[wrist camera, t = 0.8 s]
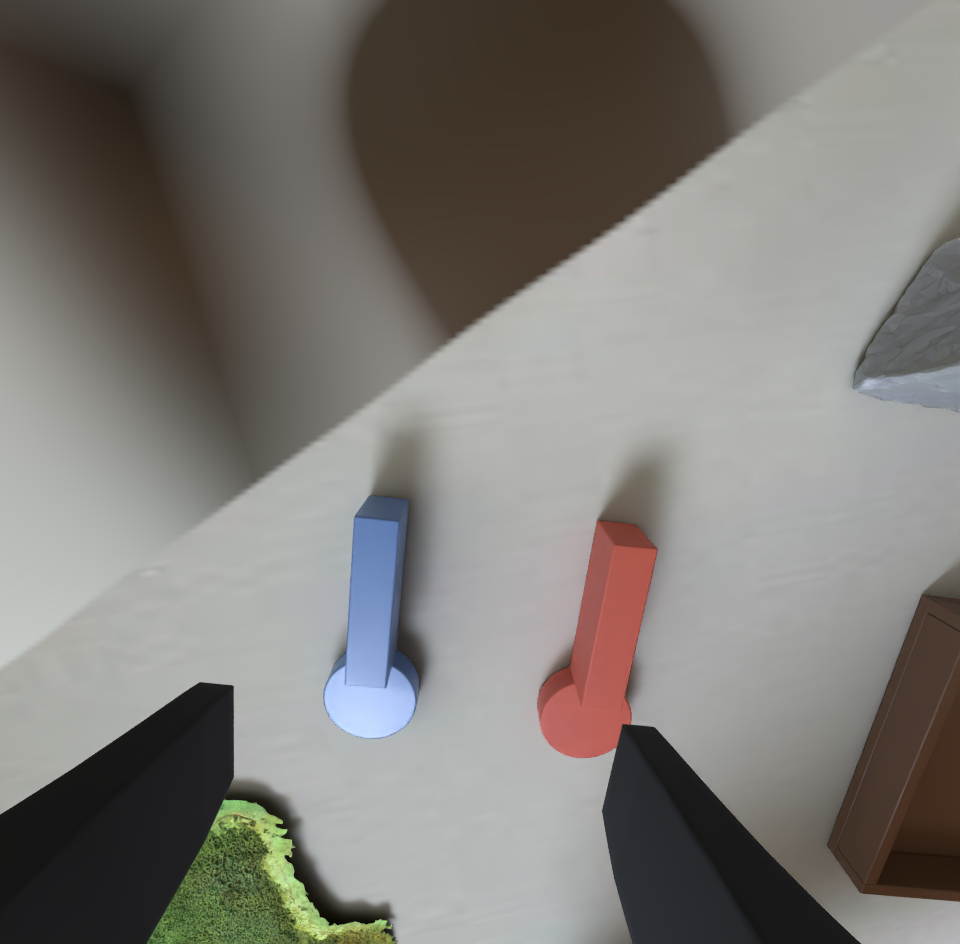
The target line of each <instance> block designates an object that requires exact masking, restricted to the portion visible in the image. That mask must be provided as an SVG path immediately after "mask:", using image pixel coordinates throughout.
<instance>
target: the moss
mask: <svg viewBox="0 0 960 944" xmlns="http://www.w3.org/2000/svg"><path fill="white" fill-rule="evenodd" d="M278 823H279V824H283V821H282V820H281V819H279V818H277V817H275V816H272V815H270V814H268V813H267V812H266V811H265V809H264V808H263V807H262V806H259V805H258V804H257V803H256V802H255V803H248V802H247V801H242V800H241V801H239V800H231V801H228V800H225V799H224V800H223V803H222V805H221V807H220V810H219V812H218V814H217V816H216V818H215V821H214V823H213V825H212V827H211V829H210V831H209V834H208V836H207V838H206V840H205V842H204V844H203V846H202V847H201V849H200V851H199V853H198V855H197V856H196V858H195V860H194V862H193V863H192V865H191V867H190V869H189V870H188V872H187V874H186V876H185V878H184V879H183V881H182V883H181V885H180V886H179V888H178V890H177V892H176V893H175V895H174V897H173V899H172V900H171V902H170V904H169V906H168V907H167V909H166V911H165V912H164V914H163V916H162V918H161V919H160V921H159V923H158V925H157V926H156V928H155V930H154V932H153V933H152V935H151V937H150V938H149V940H148V942H147V944H394V943H395V942H394V941H392V937H394V936H391V935H390V934H389V933H385V932H384V931H383V930H384V929H385V928H388V929H392V928H391V927H392V926H393V924H392V925H390V926H386V923H387V921H382V919H379V920H378V921H376V920H375V923H373V924H372V923H370V924H368V925H367V924H364V923H363V924H361V923H359V922H356V921H354V922H351V923H347V924H344V925H336V924H335V923H334V924H333V925H332V926H329V925H328V923H329V922H327V921H326V919H325V918H321V917H320V916H319V911H317V909H316V908H314V906H313V903H309V900H308V898H307V897H306V894H308V893H306V891H305V888H304V884H303V883H301V882H299V881H298V880H296V879H295V878H294V876H293V874H294V872H295V870H294V869H293V865H292V864H291V863H289V862H287V860H286V859H285V855H288V856H289V857H292V852H291V848H294V847H295V846H292V840H289V839H283V838H281V836H283V835H285V834H286V832H287V829H280V828H278V827H277V826H276V824H278ZM382 931H383V932H382ZM396 942H398V941H396Z"/></svg>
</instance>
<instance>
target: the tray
mask: <svg viewBox="0 0 960 944" xmlns="http://www.w3.org/2000/svg"><path fill="white" fill-rule="evenodd" d="M827 846H828V848H829V849H830V851H831V852H832V854H833V855H834V856H835V858H836V859H837V861H838V862H839V863H840V865H841V866H842V868H843V869H844V870H845V872H846V873H847V875H848V876H849V878H850V879H851V880H852V882H853V883H854V885H855V886H856V888H857V889H858V890H859V892H860V893H862V894H874V895H886V896H898V897H910V898H923V899H935V900H947V901H959V902H960V599H954V598H945V597H935V596H926V595H922V597H921V600H920V603H919V605H918V608H917V611H916V613H915V616H914V618H913V621H912V624H911V626H910V629H909V632H908V634H907V637H906V640H905V642H904V645H903V647H902V650H901V653H900V655H899V658H898V661H897V663H896V666H895V669H894V671H893V674H892V676H891V679H890V682H889V684H888V687H887V690H886V692H885V695H884V698H883V700H882V703H881V705H880V708H879V711H878V713H877V716H876V719H875V721H874V724H873V727H872V729H871V732H870V734H869V737H868V740H867V742H866V745H865V748H864V750H863V753H862V756H861V758H860V761H859V763H858V766H857V769H856V771H855V774H854V777H853V779H852V782H851V785H850V787H849V790H848V792H847V795H846V798H845V800H844V803H843V806H842V808H841V811H840V814H839V816H838V819H837V821H836V824H835V827H834V829H833V832H832V835H831V837H830V840H829V843H828V845H827Z"/></svg>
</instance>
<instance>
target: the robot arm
mask: <svg viewBox="0 0 960 944" xmlns="http://www.w3.org/2000/svg"><path fill="white" fill-rule="evenodd" d="M233 778H234V686H232V685H222V684H212V683H202V682H199V683H198V684H196V685H195V686H193V687H192V688H190V689H189V690H187V691H186V692H184V693H183V694H181V695H180V696H178V697H177V698H175V699H174V700H173V701H171V702H170V703H168V704H167V705H165V706H164V707H162V708H161V709H160V710H158V711H157V712H155V713H154V714H152V715H151V716H150V717H148V718H147V719H145V720H144V721H142V722H141V723H139V724H138V725H137V726H135V727H134V728H132V729H131V730H129V731H128V732H126V733H125V734H123V735H122V736H120V737H119V738H118V739H116V740H115V741H113V742H112V743H110V744H109V745H107V746H106V747H104V748H103V749H101V750H100V751H98V752H97V753H95V754H94V755H92V756H91V757H89V758H88V759H86V760H85V761H84V762H82V763H81V764H79V765H78V766H76V767H75V768H73V769H72V770H70V771H69V772H67V773H65V774H64V775H62V776H61V777H59V778H58V779H56V780H54V781H53V782H51V783H50V784H48V785H46V786H45V787H43V788H42V789H40V790H39V791H37V792H35V793H34V794H32V795H31V796H29V797H28V798H26V799H24V800H23V801H21V802H20V803H18V804H16V805H15V806H13V807H12V808H10V809H9V810H7V811H5V812H4V813H2V814H1V815H0V944H147V942H148V940H149V938H150V937H151V935H152V933H153V932H154V930H155V928H156V926H157V925H158V923H159V921H160V919H161V918H162V916H163V914H164V912H165V911H166V909H167V907H168V906H169V904H170V902H171V900H172V899H173V897H174V895H175V893H176V892H177V890H178V888H179V886H180V885H181V883H182V881H183V879H184V878H185V876H186V874H187V872H188V870H189V869H190V867H191V865H192V863H193V862H194V860H195V858H196V856H197V855H198V853H199V851H200V849H201V847H202V846H203V844H204V842H205V840H206V838H207V836H208V834H209V831H210V829H211V827H212V825H213V823H214V821H215V818H216V816H217V814H218V812H219V810H220V807H221V805H222V803H223V800H224V798H225V796H226V794H227V791H228V789H229V787H230V784H231V782H232V780H233ZM602 813H603V819H604V825H605V831H606V837H607V843H608V848H609V854H610V859H611V864H612V870H613V875H614V879H615V883H616V886H617V890H618V894H619V897H620V901H621V905H622V908H623V912H624V915H625V919H626V922H627V926H628V930H629V933H630V937H631V940H632V944H861V943H860V942H859V941H858V940H856V939H855V938H854V937H853V936H852V935H851V934H850V933H849V932H848V931H847V930H846V929H845V928H844V927H843V926H842V925H841V924H839V923H838V922H837V921H836V920H835V919H834V918H833V917H832V916H831V915H830V914H829V913H828V912H827V911H826V910H825V909H824V908H823V907H822V906H821V905H820V904H819V903H818V902H817V901H816V900H815V899H814V898H813V897H812V896H811V895H810V894H809V893H808V892H807V891H806V890H805V889H804V888H803V887H802V886H801V885H800V884H799V883H798V882H797V881H796V880H795V879H794V878H793V877H792V876H791V875H790V874H789V873H788V872H787V871H786V870H785V869H784V868H783V867H782V866H781V865H780V864H779V863H778V862H777V861H776V860H775V859H774V858H773V857H772V856H771V855H770V854H769V853H768V852H767V851H766V849H765V848H764V847H763V846H762V845H761V844H760V843H759V842H758V841H757V840H756V839H755V838H754V837H753V836H752V835H751V834H750V833H749V831H748V830H747V829H746V828H745V827H744V826H743V825H742V824H741V823H740V822H739V821H738V820H737V819H736V817H735V816H734V815H733V814H732V813H731V812H730V811H729V810H728V809H727V808H726V806H725V805H724V804H723V803H722V802H721V801H720V800H719V799H718V798H717V797H716V795H715V794H714V793H713V792H712V791H711V790H710V789H709V788H708V786H707V785H706V784H705V783H704V782H703V781H702V780H701V779H700V777H699V776H698V775H697V774H696V773H695V772H694V771H693V770H692V768H691V767H690V766H689V765H688V764H687V763H686V762H685V761H684V759H683V758H682V757H681V756H680V755H679V754H678V753H677V751H676V750H675V749H674V748H673V747H672V746H671V745H670V744H669V742H668V741H667V740H666V739H665V738H664V737H663V736H662V735H661V734H660V733H659V732H658V730H657V729H656V728H655V727H649V726H638V725H628V724H622V728H621V732H620V736H619V740H618V745H617V749H616V753H615V758H614V762H613V766H612V770H611V775H610V779H609V783H608V788H607V792H606V796H605V801H604V805H603V809H602Z"/></svg>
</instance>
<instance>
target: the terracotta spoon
mask: <svg viewBox="0 0 960 944" xmlns="http://www.w3.org/2000/svg"><path fill="white" fill-rule="evenodd" d="M657 551H658V549H657V548H656V547H655V546H654V545H653V543H652V542H651V541H650V540H649V539H648V538H647V537H646V536H645V535H644V533H643V532H642V531H641V530H640V529H639V528H638V527H637V526H636V525H635V524H626V523H617V522H608V521H597V524H596V530H595V535H594V540H593V546H592V551H591V556H590V561H589V567H588V572H587V577H586V583H585V588H584V593H583V599H582V604H581V609H580V614H579V620H578V625H577V630H576V636H575V641H574V646H573V651H572V657H571V662H570V667H567V668H564V669H562V670H560V671H558V672H556V673H555V674H553V675H552V676H551V677H550V678H549V679H548V680H547V681H546V682H545V683H544V685H543V686H542V688H541V690H540V693H539V696H538V701H537V709H538V715H539V720H540V726H541V731H542V733H543V736H544V737H545V739H546V740H547V742H548V743H549V744H550V745H551V746H552V747H553V748H554V749H556V750H557V751H559V752H560V753H562V754H565V755H567V756H571V757H576V758H591V757H596V756H599V755H602V754H605V753H607V752H609V751H611V750H612V749H614V748H615V747H617V745H618V740H619V736H620V732H621V728H622V724H628V725H631V719H632V716H631V708H630V705H629V703H628V700H627V698H626V696H625V693H626V689H627V684H628V680H629V675H630V671H631V666H632V662H633V658H634V653H635V649H636V644H637V640H638V635H639V631H640V626H641V622H642V618H643V613H644V609H645V604H646V600H647V595H648V591H649V586H650V582H651V577H652V573H653V569H654V564H655V560H656V555H657Z"/></svg>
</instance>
